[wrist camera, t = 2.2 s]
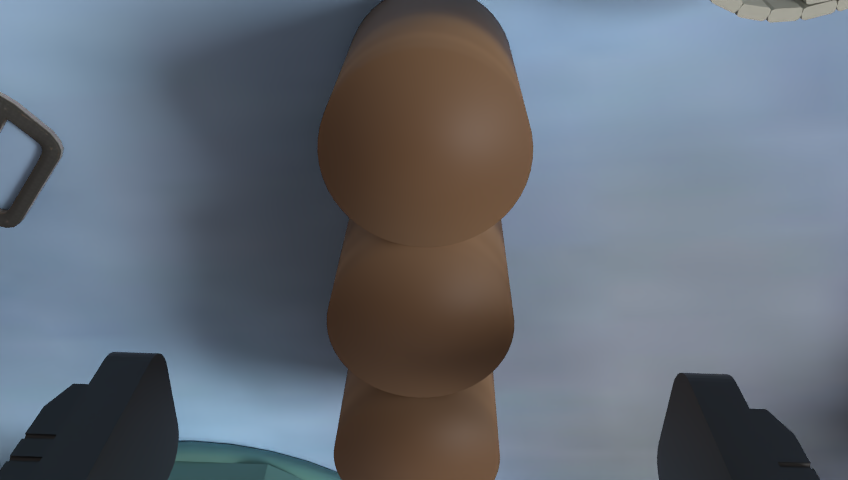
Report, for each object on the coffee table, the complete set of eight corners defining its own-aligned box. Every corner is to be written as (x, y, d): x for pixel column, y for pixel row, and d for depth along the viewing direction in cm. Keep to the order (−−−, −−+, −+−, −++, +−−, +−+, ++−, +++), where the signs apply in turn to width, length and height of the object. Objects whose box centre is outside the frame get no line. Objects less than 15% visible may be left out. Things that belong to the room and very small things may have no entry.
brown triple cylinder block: (345, -17, 14) (311, 44, 10) (519, -12, 14) (544, 52, 10) (357, 380, 19) (336, 512, 15) (484, 385, 18) (493, 518, 15)
